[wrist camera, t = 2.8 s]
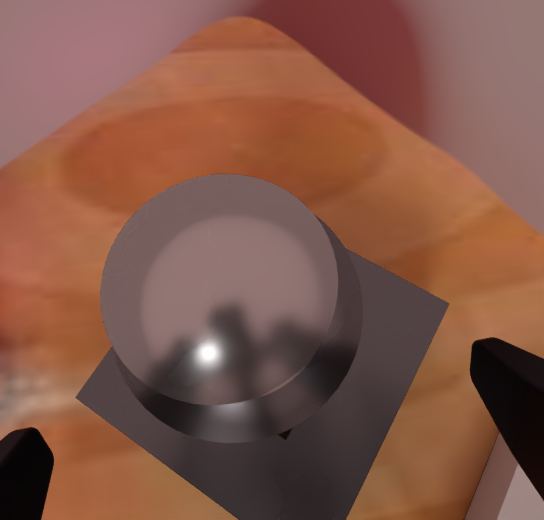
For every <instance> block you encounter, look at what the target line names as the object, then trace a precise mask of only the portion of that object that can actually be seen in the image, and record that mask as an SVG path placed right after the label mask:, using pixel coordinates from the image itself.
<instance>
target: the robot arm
mask: <svg viewBox="0 0 544 520" xmlns="http://www.w3.org/2000/svg"><path fill="white" fill-rule="evenodd" d="M470 376H471V379H472V382H473V384H474V386H475V387H476V389H477V391H478V393H479V395H480V397H481V399H482V400H483V402H484V404H485V406H486V408H487V410H488V411H489V413H490V415H491V417H492V419H493V421H494V422H495V424H496V426H497V428H498V430H499V432H500V433H501V435H502V437H503V439H504V441H505V443H506V444H507V446H508V448H509V450H510V451H511V453H512V455H513V456H514V458H515V459H516V461H517V462H518V464H519V465H520V467H521V468H522V470H523V471H524V473H525V474H526V476H527V477H528V479H529V480H530V482H531V483H532V485H533V486H534V488H535V489H536V490H537V492H538V493H539V495H540V496H541V498H542V499H543V501H544V359H543V358H541V357H538V356H536V355H534V354H532V353H529V352H527V351H525V350H523V349H520V348H518V347H516V346H514V345H512V344H509V343H507V342H505V341H503V340H500V339H498V338H494V337H491V338H485V339H480V340H476V341H474V343H473V344H472V351H471V363H470ZM53 465H54V457H53V453H52V451H51V449H50V448H49V446H48V445H47V443H46V442H45V440H44V438H43V437H42V435H41V434H40V432H39V431H38V430H37V429H36V428H32V427H30V428H25V429H20V430H15V431H12V432H11V433H9V434H8V435H7V436H6V437H4V438H3V439H2V440H1V441H0V520H41V518H42V514H43V509H44V505H45V501H46V496H47V492H48V487H49V483H50V479H51V474H52V470H53Z"/></svg>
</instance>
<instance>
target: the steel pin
mask: <svg viewBox="0 0 544 520" xmlns="http://www.w3.org/2000/svg"><path fill="white" fill-rule="evenodd" d="M100 296H101V311H102V317H103V323H104V326H105V329H106V332H107V336H108V338H109V340H110V342H111V344H112V348H113V353H114V356H115V359H116V362H117V365H118V368H119V370H120V372H121V374H122V376H123V379H124V381H125V383H126V384H127V386H128V387H129V389H130V390H131V392H132V393H133V395H134V396H135V397H136V398H137V400H138V401H139V402H140V403H141V404H142V405H143V406H144V407H145V409H146V410H148V411H149V412H150V413H151V414H152V415H154V416H155V417H156V418H157V419H158V420H160V421H161V422H163V423H165V424H166V425H168V426H170V427H171V428H173V429H174V430H177V431H179V432H181V433H184V434H186V435H188V436H191V437H195V438H198V439H202V440H206V441H212V442H221V443H243V442H250V441H256V440H261V439H265V438H268V437H271V436H274V435H277V434H280V433H283V432H285V431H287V430H289V429H291V428H293V427H295V426H297V425H298V424H300V423H301V422H303V421H304V420H306V419H307V418H309V417H310V416H311V415H313V414H314V413H315V412H316V411H317V410H318V409H320V408H321V407H322V406H323V405H324V404H325V403H326V402H327V401H328V400H329V399H330V397H331V396H332V395H333V394H334V393H335V391H336V390H337V389H338V388H339V386H340V385H341V383H342V381H343V380H344V378H345V377H346V375H347V373H348V371H349V369H350V367H351V365H352V363H353V360H354V358H355V356H356V352H357V349H358V345H359V342H360V338H361V331H362V325H363V300H362V292H361V287H360V283H359V279H358V275H357V272H356V269H355V267H354V265H353V262H352V260H351V258H350V256H349V254H348V252H347V251H346V249H345V247H344V245H343V244H342V243H341V241H340V240H339V239H338V237H337V236H336V235H335V233H334V232H333V231H332V230H331V229H330V228H329V227H328V226H327V225H326V224H325V223H324V222H323V221H322V220H320V219H319V218H318V217H317V216H315V215H314V214H313V213H312V211H311V210H310V209H309V208H308V207H307V206H306V205H305V204H304V203H303V202H301V201H300V200H299V199H298V198H296V197H295V196H294V195H293V194H291V193H290V192H288V191H286V190H284V189H283V188H281V187H279V186H277V185H275V184H273V183H270V182H268V181H265V180H262V179H259V178H255V177H251V176H245V175H238V174H215V175H207V176H202V177H197V178H193V179H190V180H187V181H183V182H181V183H179V184H176V185H174V186H172V187H170V188H168V189H166V190H164V191H163V192H161V193H159V194H157V195H156V196H155V197H153V198H152V199H150V200H149V201H148V202H146V203H145V204H144V205H143V206H142V207H141V208H140V209H139V210H138V211H136V212H135V214H134V215H133V216H132V217H131V218H130V219H129V220H128V221H127V223H126V224H125V225H124V227H123V228H122V230H121V231H120V233H119V234H118V236H117V238H116V239H115V241H114V243H113V245H112V247H111V249H110V252H109V254H108V257H107V260H106V262H105V266H104V271H103V275H102V281H101V291H100Z"/></svg>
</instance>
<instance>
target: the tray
mask: <svg viewBox="0 0 544 520" xmlns="http://www.w3.org/2000/svg"><path fill="white" fill-rule="evenodd" d="M464 520H544V501H543V499H542V498H541V496H540V495H539V493H538V492H537V490H536V489H535V488H534V486H533V485H532V483H531V482H530V480H529V479H528V477H527V476H526V474H525V473H524V471H523V470H522V468H521V467H520V465H519V464H518V462H517V461H516V459H515V458H514V456H513V455H512V453H511V451H510V450H509V448H508V446H507V444H506V443H505V441H504V439H503V437H502V435H501V433H500V432H499V435H498V437H497V440H496V442H495V445H494V447H493V450H492V452H491V455H490V457H489V460H488V462H487V464H486V467H485V469H484V472H483V474H482V477H481V479H480V482H479V484H478V487H477V489H476V492H475V494H474V497H473V499H472V502H471V504H470V507H469V509H468V512H467V514H466V517H465V519H464Z"/></svg>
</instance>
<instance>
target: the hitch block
mask: <svg viewBox="0 0 544 520" xmlns="http://www.w3.org/2000/svg"><path fill="white" fill-rule="evenodd" d="M345 249H346V248H345ZM346 251H347V252H348V254H349V256H350V258H351V260H352V262H353V265H354V267H355V269H356V272H357V275H358V279H359V283H360V287H361V292H362V300H363V325H362V331H361V338H360V342H359V345H358V349H357V352H356V356H355V358H354V360H353V363H352V365H351V367H350V369H349V371H348V373H347V375H346V377H345V378H344V380H343V381H342V383H341V385H340V386H339V388H338V389H337V390H336V391H335V393H334V394H333V395H332V396H331V397H330V399H329V400H328V401H327V402H326V403H325V404H324V405H323V406H322V407H321V408H320V409H318V410H317V411H316V412H315V413H314V414H313V415H311V416H310V417H309V418H307V419H306V420H304V421H303V422H301V423H300V424H298V425H297V426H295V427H293V428H291V429H289V430H288V431H285V432H283V433H280V434H277V435H274V436H271V437H268V438H265V439H261V440H256V441H250V442H243V443H221V442H212V441H206V440H202V439H198V438H195V437H191V436H188V435H186V434H184V433H181V432H179V431H177V430H174V429H173V428H171V427H170V426H168V425H166V424H165V423H163V422H161V421H160V420H158V419H157V418H156V417H155V416H154V415H152V414H151V413H150V412H149V411H148V410H146V409H145V407H144V406H143V405H142V404H141V403H140V402H139V401H138V400H137V398H136V397H135V396H134V395H133V393H132V392H131V390H130V389H129V387H128V386H127V384H126V383H125V381H124V379H123V376H122V374H121V372H120V370H119V368H118V365H117V362H116V359H115V356H114V353H113V348H112V347H111V349H110V350H109V351H108V353H107V354H106V356H105V357H104V358H103V360H102V361H101V363H100V364H99V365H98V367H97V368H96V370H95V371H94V372H93V374H92V375H91V377H90V378H89V379H88V381H87V382H86V384H85V385H84V386H83V388H82V389H81V390H80V392H79V393H78V395H77V396H76V397H75V398H76V399H78V400H79V401H80V402H82V403H83V404H84V405H86V406H87V407H89V408H90V409H91V410H93V411H94V412H95V413H97V414H98V415H99V416H101V417H102V418H103V419H105V420H106V421H107V422H109V423H110V424H111V425H113V426H114V427H115V428H117V429H118V430H119V431H121V432H122V433H123V434H125V435H126V436H127V437H129V438H130V439H131V440H133V441H134V442H135V443H137V444H138V445H139V446H141V447H142V448H144V449H145V450H146V451H148V452H149V453H150V454H152V455H153V456H154V457H156V458H157V459H158V460H160V461H161V462H162V463H164V464H165V465H166V466H168V467H169V468H170V469H172V470H173V471H174V472H176V473H177V474H178V475H180V476H181V477H182V478H184V479H185V480H186V481H188V482H189V483H190V484H192V485H193V486H195V487H196V488H197V489H199V490H200V491H201V492H203V493H204V494H205V495H207V496H208V497H209V498H211V499H212V500H213V501H215V502H216V503H217V504H219V505H220V506H221V507H223V508H224V509H225V510H227V511H228V512H229V513H231V514H232V515H233V516H235V517H236V518H237V519H239V520H346V518H347V516H348V514H349V512H350V510H351V508H352V506H353V504H354V502H355V499H356V497H357V495H358V493H359V491H360V489H361V487H362V485H363V483H364V481H365V479H366V477H367V474H368V472H369V470H370V468H371V466H372V464H373V462H374V460H375V458H376V456H377V454H378V452H379V450H380V447H381V445H382V443H383V441H384V439H385V437H386V435H387V433H388V431H389V429H390V427H391V425H392V422H393V420H394V418H395V416H396V414H397V412H398V410H399V408H400V406H401V404H402V402H403V400H404V397H405V395H406V393H407V391H408V389H409V387H410V385H411V383H412V381H413V379H414V377H415V375H416V373H417V370H418V368H419V366H420V364H421V362H422V360H423V358H424V356H425V354H426V352H427V350H428V348H429V345H430V343H431V341H432V339H433V337H434V335H435V333H436V331H437V329H438V327H439V325H440V323H441V320H442V318H443V316H444V314H445V312H446V310H447V308H448V306H449V303H447V302H446V301H444V300H442V299H440V298H438V297H436V296H434V295H432V294H430V293H429V292H427V291H425V290H423V289H421V288H419V287H417V286H415V285H414V284H412V283H410V282H408V281H406V280H404V279H402V278H400V277H398V276H397V275H395V274H393V273H391V272H389V271H387V270H385V269H383V268H382V267H380V266H378V265H376V264H374V263H372V262H370V261H368V260H366V259H365V258H363V257H361V256H359V255H357V254H355V253H353V252H351V251H350V250H348V249H346Z"/></svg>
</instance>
